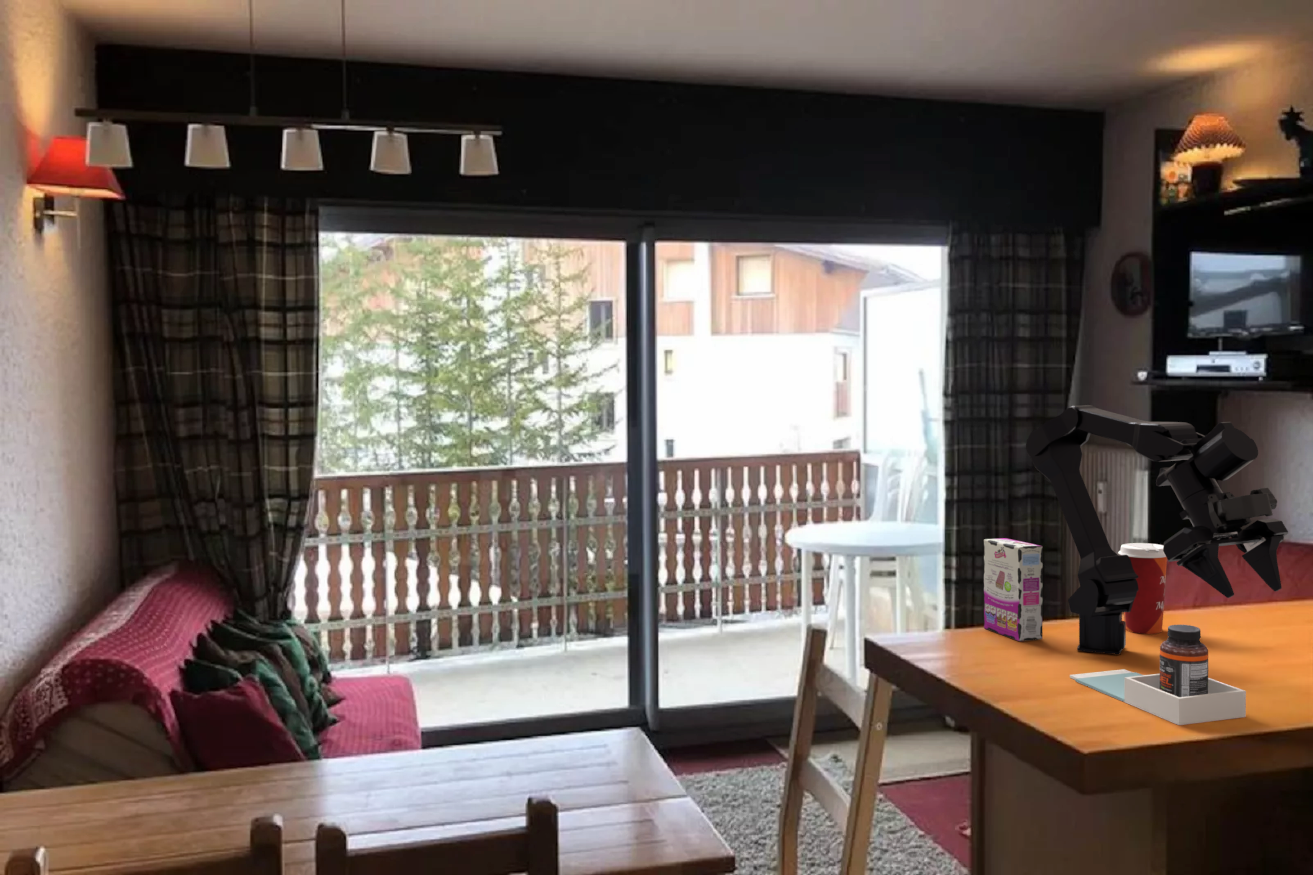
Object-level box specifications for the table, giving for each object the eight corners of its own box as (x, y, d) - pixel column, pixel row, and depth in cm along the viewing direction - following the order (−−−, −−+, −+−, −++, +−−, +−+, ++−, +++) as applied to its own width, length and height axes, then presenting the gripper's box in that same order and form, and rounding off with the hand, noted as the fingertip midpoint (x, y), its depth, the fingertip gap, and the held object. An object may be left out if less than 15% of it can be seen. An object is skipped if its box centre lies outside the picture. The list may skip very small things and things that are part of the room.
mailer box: (1178, 725, 140) (1178, 698, 140) (1067, 677, 163) (1067, 655, 163) (1245, 716, 143) (1245, 690, 143) (1126, 671, 166) (1126, 648, 165)
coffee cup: (1177, 635, 187) (1177, 549, 186) (1129, 636, 187) (1129, 550, 186) (1155, 624, 195) (1156, 541, 194) (1110, 625, 195) (1110, 542, 195)
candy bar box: (1044, 640, 186) (1044, 545, 185) (1019, 642, 184) (1019, 547, 184) (1006, 626, 197) (1006, 536, 196) (982, 628, 195) (981, 538, 194)
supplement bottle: (1150, 704, 150) (1150, 623, 149) (1191, 702, 150) (1192, 621, 149) (1174, 717, 144) (1175, 633, 143) (1217, 715, 144) (1218, 631, 143)
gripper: (1191, 472, 149) (1248, 573, 142) (1287, 465, 156) (1346, 561, 149) (1139, 511, 158) (1190, 609, 150) (1232, 503, 165) (1285, 596, 157)
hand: (1255, 593), depth 151 cm, fingers open, 9 cm apart
